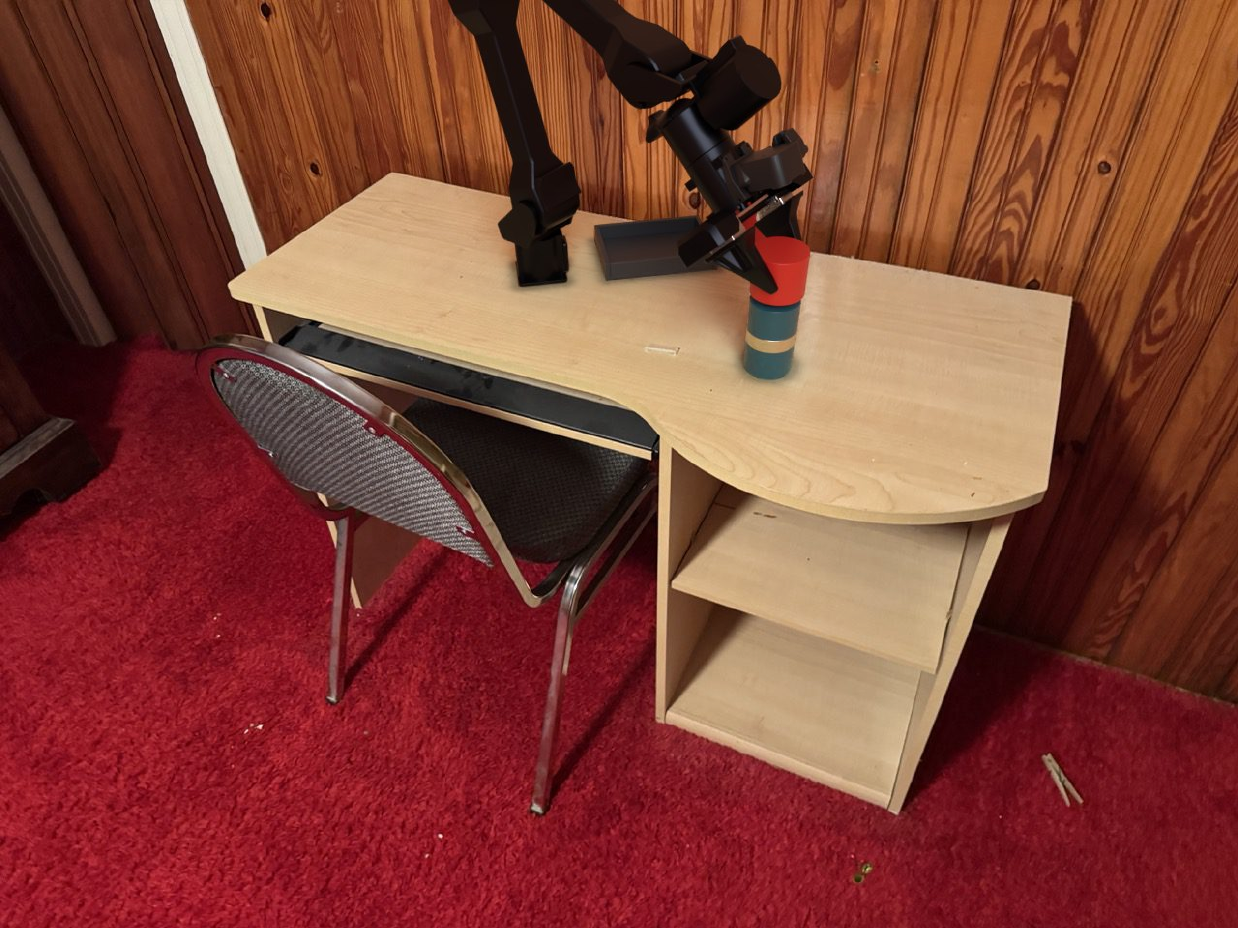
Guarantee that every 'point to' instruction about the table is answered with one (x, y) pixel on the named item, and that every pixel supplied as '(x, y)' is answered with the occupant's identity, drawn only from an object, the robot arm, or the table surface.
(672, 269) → the tray
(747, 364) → the teal banded cylinder
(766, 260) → the spray cap
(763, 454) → the table surface
